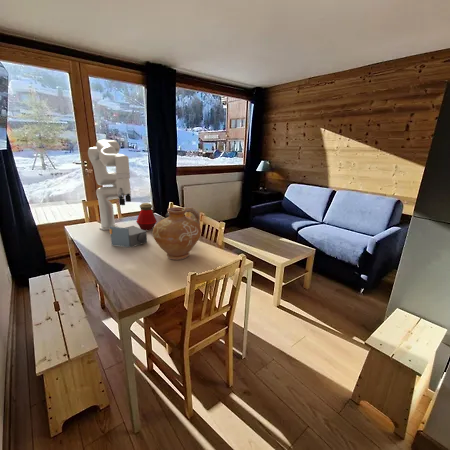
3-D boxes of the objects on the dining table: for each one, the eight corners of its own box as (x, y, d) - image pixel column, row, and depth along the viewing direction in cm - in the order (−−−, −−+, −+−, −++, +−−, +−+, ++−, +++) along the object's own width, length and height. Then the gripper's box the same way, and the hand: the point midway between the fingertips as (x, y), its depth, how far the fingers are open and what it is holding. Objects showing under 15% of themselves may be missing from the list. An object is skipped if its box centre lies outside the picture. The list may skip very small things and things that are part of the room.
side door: (110, 245, 161) (109, 227, 157) (112, 244, 163) (110, 226, 159) (128, 247, 159) (127, 229, 155) (129, 246, 161) (128, 228, 157)
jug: (150, 249, 159) (148, 203, 150) (193, 244, 170) (193, 201, 161) (157, 269, 135) (155, 216, 125) (207, 262, 146) (208, 212, 136)
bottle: (133, 229, 192) (131, 204, 186) (143, 224, 205) (141, 200, 198) (151, 232, 188) (149, 206, 182) (160, 227, 201) (159, 203, 194)
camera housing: (118, 240, 171) (117, 229, 168) (134, 236, 180) (133, 225, 177) (132, 248, 160) (131, 236, 157) (149, 243, 169) (148, 232, 166)
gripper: (122, 174, 161) (124, 200, 166) (110, 177, 144) (113, 206, 150) (134, 174, 161) (136, 200, 166) (123, 178, 144) (126, 206, 150)
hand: (125, 203), depth 158 cm, fingers open, 9 cm apart
